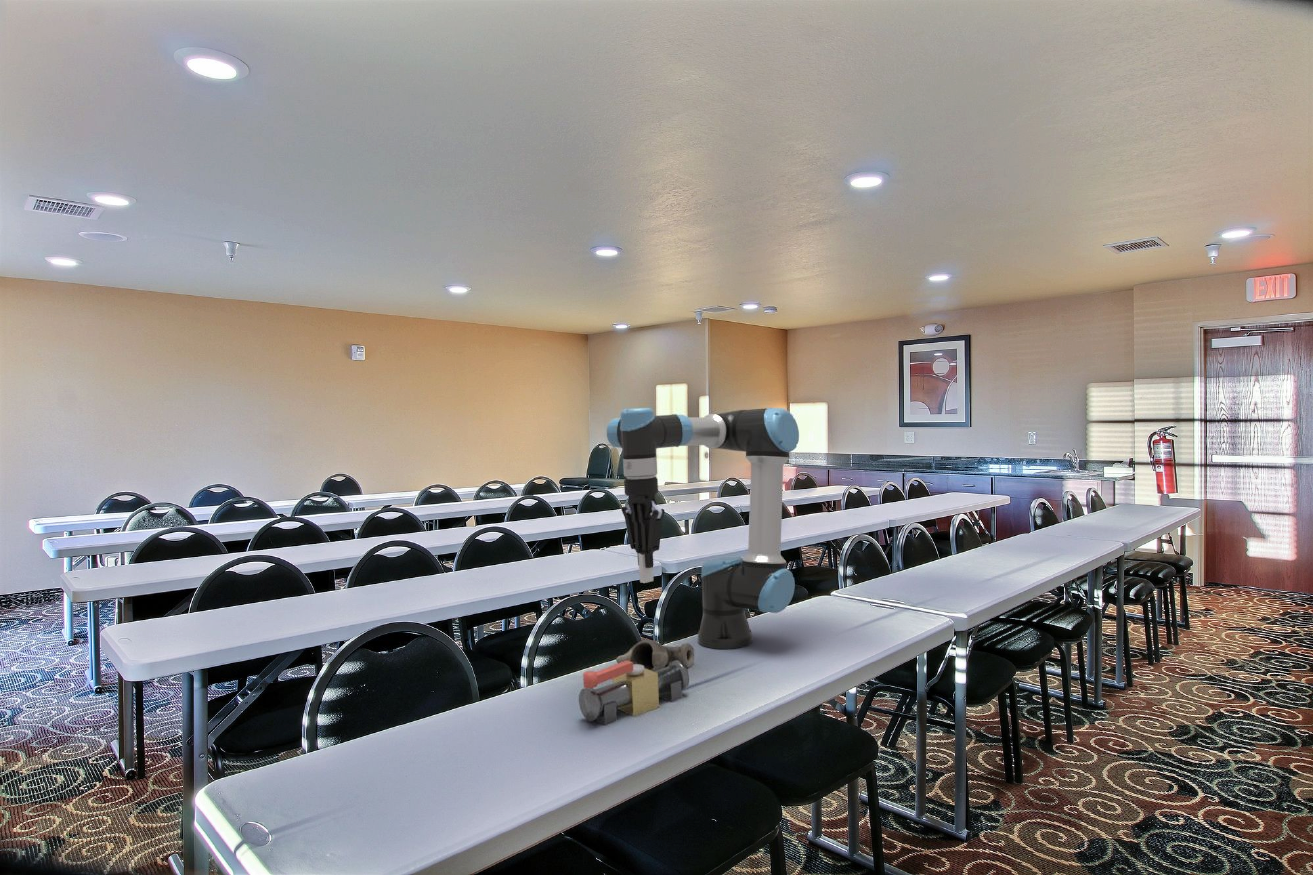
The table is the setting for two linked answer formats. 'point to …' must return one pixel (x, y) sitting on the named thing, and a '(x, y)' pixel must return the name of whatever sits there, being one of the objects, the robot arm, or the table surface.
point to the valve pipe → (634, 693)
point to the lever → (611, 673)
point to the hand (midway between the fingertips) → (646, 581)
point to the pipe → (658, 655)
